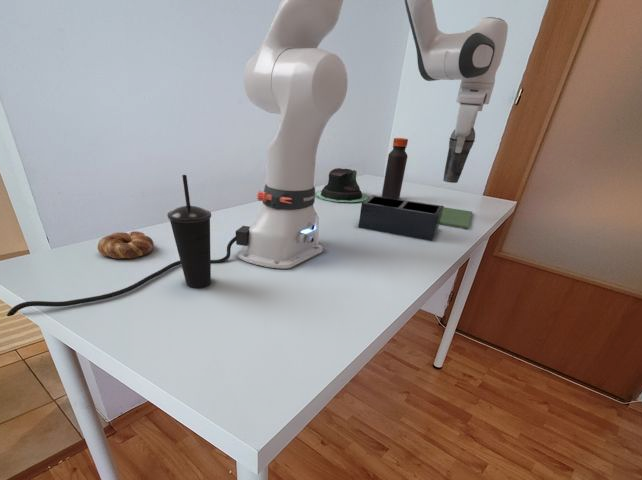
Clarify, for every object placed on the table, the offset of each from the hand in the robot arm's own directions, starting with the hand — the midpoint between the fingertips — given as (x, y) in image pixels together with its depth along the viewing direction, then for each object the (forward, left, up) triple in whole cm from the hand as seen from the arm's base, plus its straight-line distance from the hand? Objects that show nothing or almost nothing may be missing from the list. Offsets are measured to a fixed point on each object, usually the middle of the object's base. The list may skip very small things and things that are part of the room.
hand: (459, 151), depth 110 cm
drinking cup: (-81, +38, -20) cm, 92 cm away
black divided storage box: (-22, +10, -20) cm, 31 cm away
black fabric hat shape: (+6, +38, -20) cm, 43 cm away
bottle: (+14, +21, -20) cm, 32 cm away
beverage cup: (0, 0, -9) cm, 9 cm away
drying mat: (0, 0, -20) cm, 20 cm away
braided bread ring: (-76, +62, -20) cm, 100 cm away
